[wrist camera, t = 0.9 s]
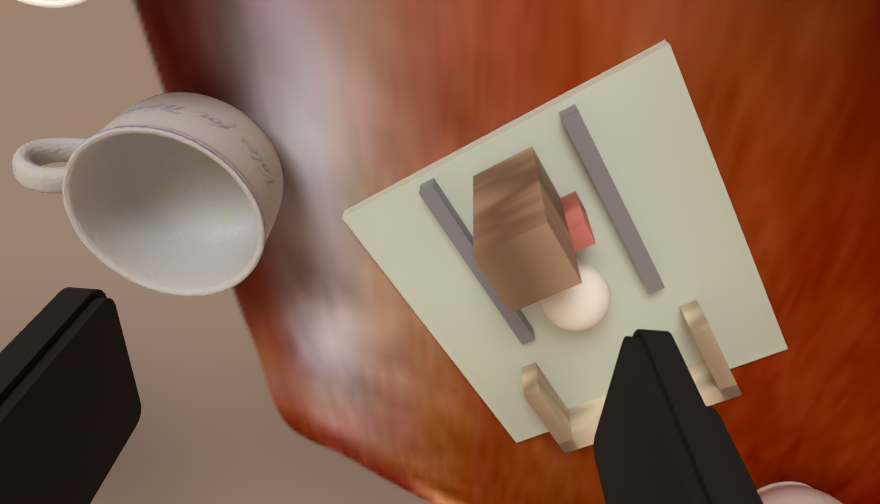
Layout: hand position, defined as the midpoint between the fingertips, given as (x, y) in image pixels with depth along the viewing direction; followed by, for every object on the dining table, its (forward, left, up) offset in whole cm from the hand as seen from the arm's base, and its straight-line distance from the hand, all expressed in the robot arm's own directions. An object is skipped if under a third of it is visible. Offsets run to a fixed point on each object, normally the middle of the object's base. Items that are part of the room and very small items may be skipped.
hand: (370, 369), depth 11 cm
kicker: (0, +11, -26) cm, 28 cm away
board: (0, +19, -27) cm, 33 cm away
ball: (0, +18, -24) cm, 30 cm away
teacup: (+17, -2, -27) cm, 32 cm away
